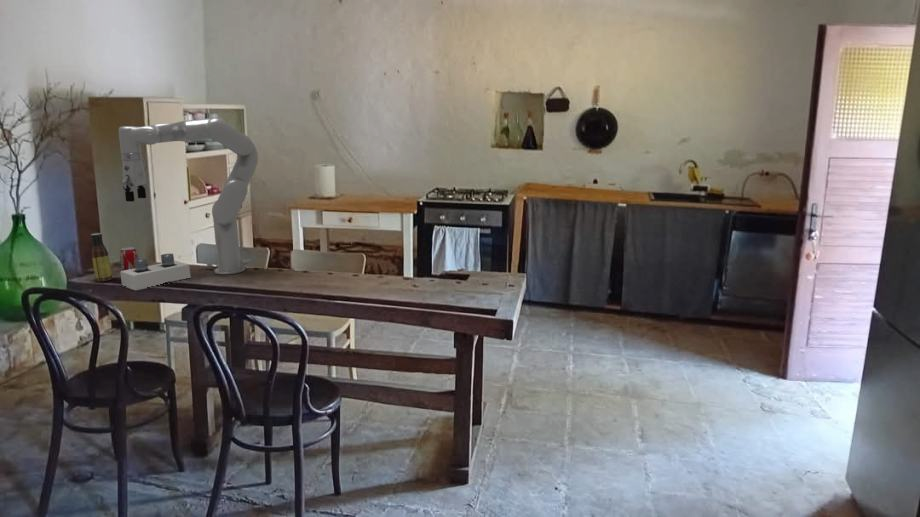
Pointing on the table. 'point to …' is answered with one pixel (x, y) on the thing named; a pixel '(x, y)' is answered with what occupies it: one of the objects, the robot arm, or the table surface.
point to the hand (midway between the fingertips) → (136, 199)
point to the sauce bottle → (100, 259)
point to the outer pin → (141, 265)
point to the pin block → (154, 275)
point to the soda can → (128, 257)
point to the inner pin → (167, 260)
